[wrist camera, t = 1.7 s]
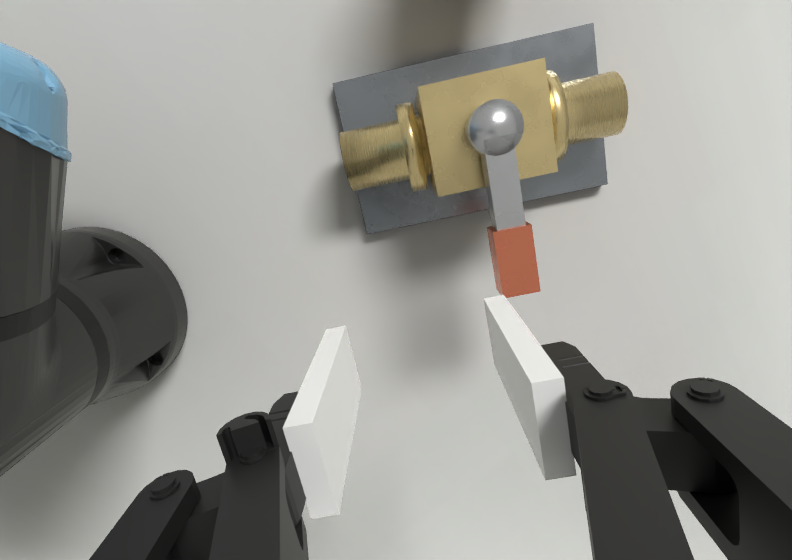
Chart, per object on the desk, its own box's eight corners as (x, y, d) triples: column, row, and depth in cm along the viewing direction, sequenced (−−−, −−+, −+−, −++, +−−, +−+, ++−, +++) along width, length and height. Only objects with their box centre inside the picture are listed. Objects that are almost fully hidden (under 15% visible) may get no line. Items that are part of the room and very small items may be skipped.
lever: (460, 109, 29) (466, 105, 26) (510, 98, 29) (520, 92, 26) (489, 288, 32) (497, 299, 29) (535, 279, 32) (546, 290, 29)
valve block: (368, 232, 39) (359, 250, 31) (334, 85, 36) (315, 66, 28) (602, 183, 38) (653, 190, 30) (588, 26, 35) (641, -11, 27)
